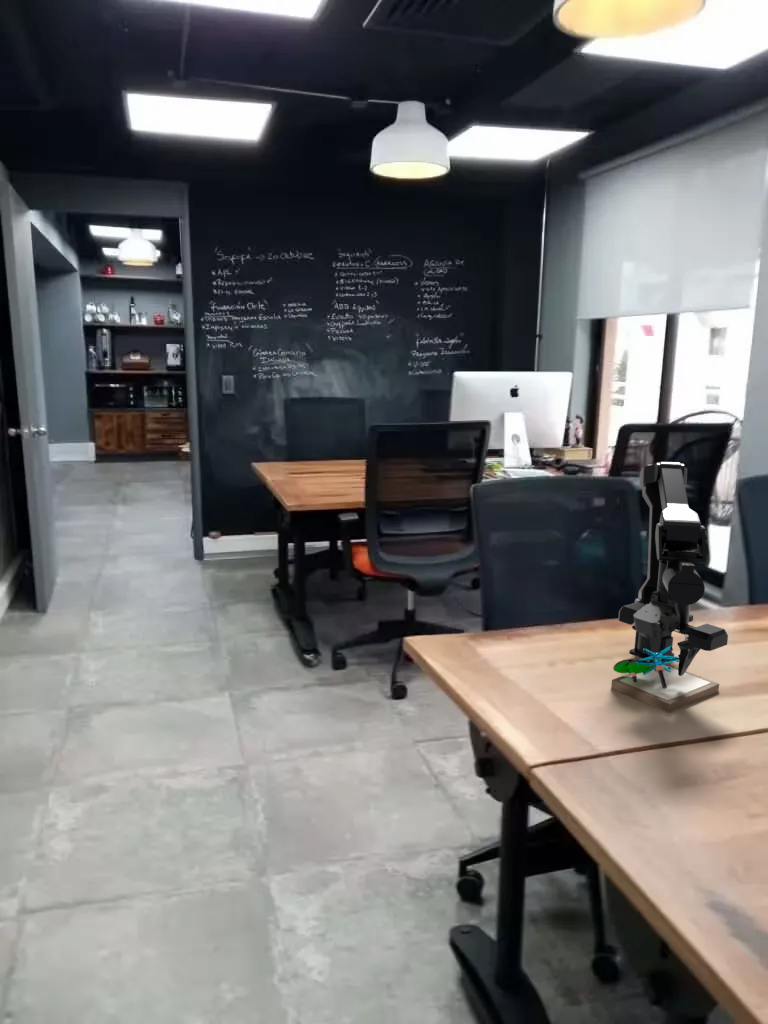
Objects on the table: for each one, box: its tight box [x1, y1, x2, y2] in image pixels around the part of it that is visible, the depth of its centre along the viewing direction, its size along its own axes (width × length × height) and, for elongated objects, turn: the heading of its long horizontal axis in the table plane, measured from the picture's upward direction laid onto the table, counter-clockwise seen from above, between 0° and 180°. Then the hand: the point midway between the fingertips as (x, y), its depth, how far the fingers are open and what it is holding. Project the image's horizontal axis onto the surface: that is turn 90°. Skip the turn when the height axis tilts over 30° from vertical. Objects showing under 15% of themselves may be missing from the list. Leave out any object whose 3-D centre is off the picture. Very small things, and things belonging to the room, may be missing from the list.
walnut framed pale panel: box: [610, 663, 720, 714], centre depth 138 cm, size 12×15×2 cm
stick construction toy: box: [612, 645, 680, 689], centre depth 136 cm, size 12×7×8 cm
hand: (666, 669), depth 137 cm, fingers open, 5 cm apart
